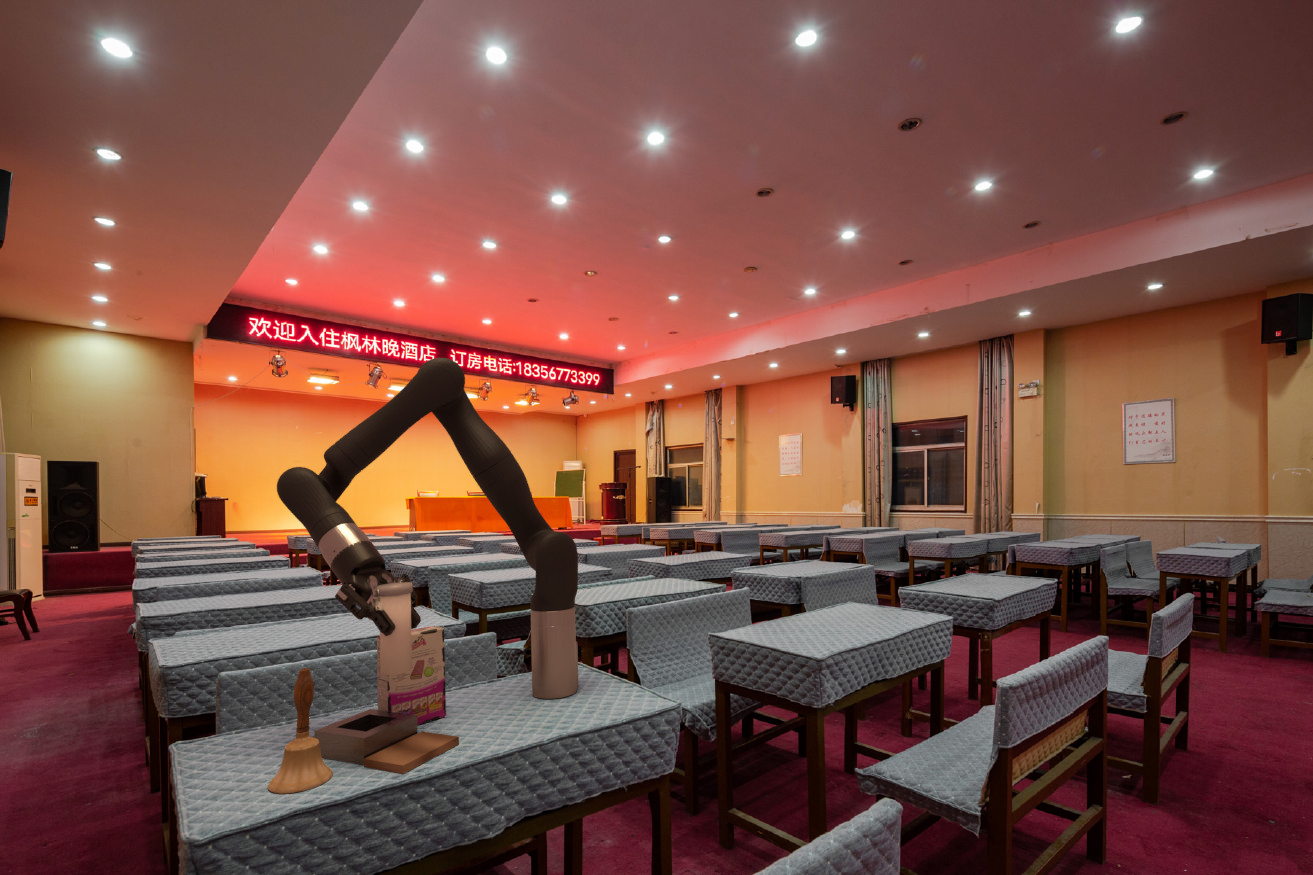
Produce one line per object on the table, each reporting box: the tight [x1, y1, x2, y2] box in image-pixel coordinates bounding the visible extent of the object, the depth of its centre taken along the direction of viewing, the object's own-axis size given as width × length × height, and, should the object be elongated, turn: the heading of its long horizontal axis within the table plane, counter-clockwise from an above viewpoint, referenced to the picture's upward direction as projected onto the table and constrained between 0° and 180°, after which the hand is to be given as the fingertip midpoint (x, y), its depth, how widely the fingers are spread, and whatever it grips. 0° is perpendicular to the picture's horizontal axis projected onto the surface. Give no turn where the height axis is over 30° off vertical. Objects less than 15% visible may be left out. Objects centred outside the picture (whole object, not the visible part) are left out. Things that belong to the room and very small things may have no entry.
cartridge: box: [377, 581, 413, 675], centre depth 104 cm, size 5×5×14 cm
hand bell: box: [267, 667, 334, 795], centre depth 93 cm, size 8×8×16 cm
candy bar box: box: [376, 625, 447, 726], centre depth 116 cm, size 11×5×16 cm, turn 138°
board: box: [363, 731, 460, 775], centre depth 100 cm, size 12×8×1 cm, turn 156°
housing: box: [313, 708, 418, 766], centre depth 104 cm, size 11×11×4 cm
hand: (404, 628), depth 103 cm, fingers closed on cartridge, 4 cm apart
